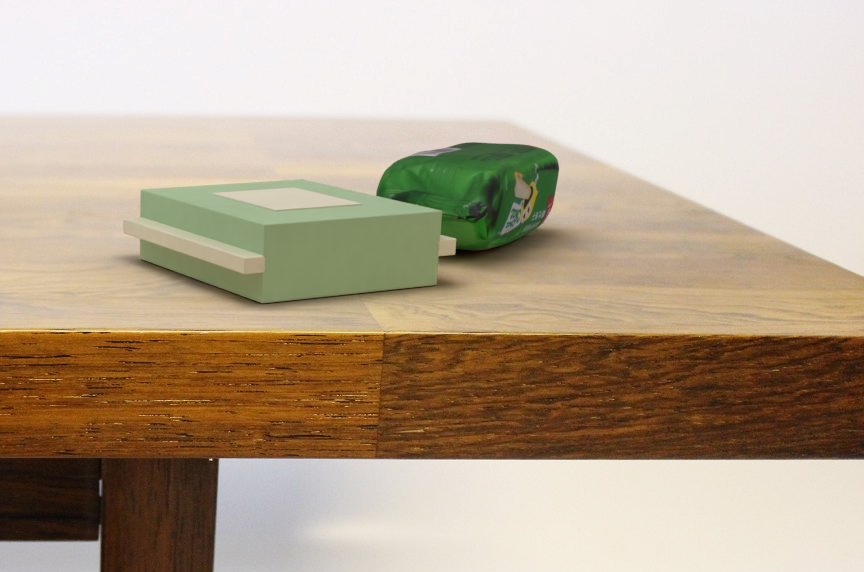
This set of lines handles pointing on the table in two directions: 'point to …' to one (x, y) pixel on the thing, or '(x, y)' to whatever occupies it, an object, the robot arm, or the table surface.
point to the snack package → (478, 189)
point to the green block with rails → (289, 239)
